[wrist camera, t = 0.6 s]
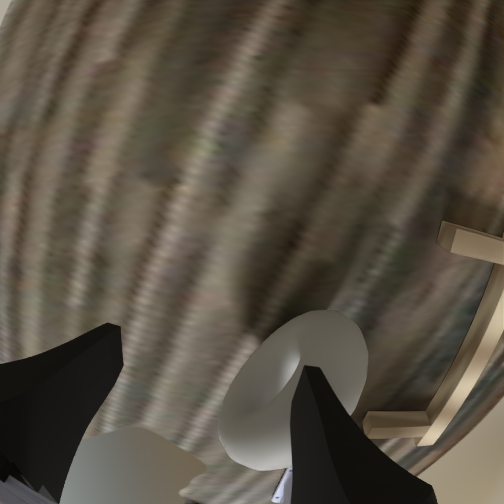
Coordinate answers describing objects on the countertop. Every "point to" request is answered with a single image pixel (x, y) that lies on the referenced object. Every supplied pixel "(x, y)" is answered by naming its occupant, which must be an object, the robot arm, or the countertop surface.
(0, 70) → the countertop surface
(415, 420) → the drawer pull handle
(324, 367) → the white rubber ring
